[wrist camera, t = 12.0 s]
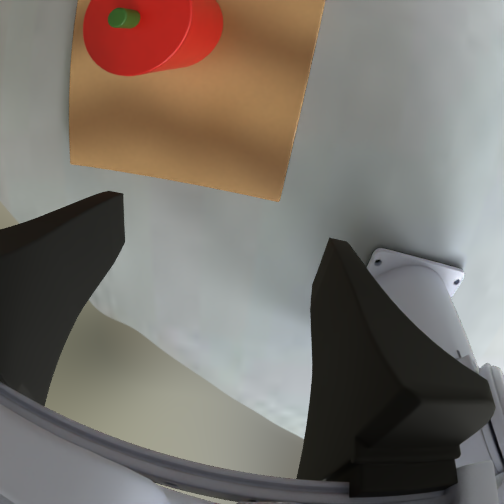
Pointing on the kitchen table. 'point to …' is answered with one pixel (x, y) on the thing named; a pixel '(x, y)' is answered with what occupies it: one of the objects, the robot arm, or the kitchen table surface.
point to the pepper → (150, 34)
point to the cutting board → (203, 103)
